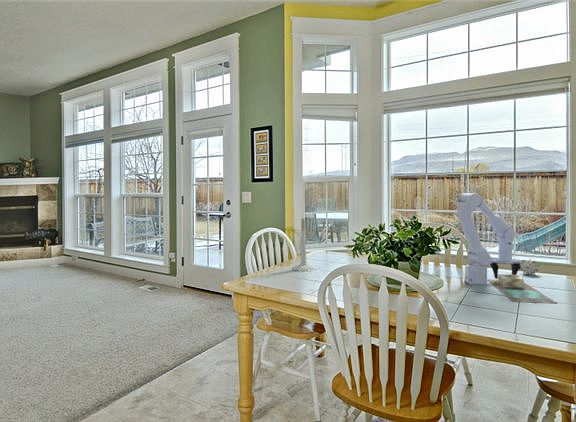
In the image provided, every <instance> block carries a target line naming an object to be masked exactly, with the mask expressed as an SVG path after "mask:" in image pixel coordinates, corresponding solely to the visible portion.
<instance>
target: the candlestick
mask: <svg viewBox="0 0 576 422" xmlns="http://www.w3.org/2000/svg"><path fill="white" fill-rule="evenodd" d="M300 221H301V227H300V228H301V229H300V230H299V231H300V234H301V246H300V247H301V248H300V250H301V251H300V263H299V264H297V265H295V266H293V267H292V270H293V269H295V270H300V271H307V272H309V271H308V270H313V269H316V267H315V266H313V265H312V264H309V263H308V262H307V249H306V248H307V245H306V236H305V235H306V231H307V230H306V223H305V221H306V219H305V218H301V220H300ZM295 270H294V271H295ZM300 271H299V272H300ZM313 271H314V270H313Z"/></svg>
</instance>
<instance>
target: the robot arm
mask: <svg viewBox="0 0 576 422" xmlns="http://www.w3.org/2000/svg"><path fill="white" fill-rule="evenodd" d="M456 203H457V207H456V208H457V211H456V215H457V218H458V221H459V223H460V227H461V229H462V231H463V234H464V237H465V239H466V242H467V245H468V248H467V249H466V251H467V259H468V261H469V263H470V264H468V263H467V264H465V266H464V281H465V282H466V283H467V284H469V285H484V286H486V285H488V286H489V285H491V283H489V282H488V281H487V279H488V266H489V264H490V267H491V270H492V271H493V275H494V279H495V280H498V274H499V267H500V266H499V264H500V265H510V266H511V275H517V274H518V272H519V271H520V270H521V269H520V268H521V265H522V263H523V259H513V243H514V238H515V237H516V236H517V235H516V234H517V233H516V231H515V229H514V228H513V227H510V226H509V224H508V223H506V222H505V220H504V218H503V216H502V215H498V214H495V213H494V212H493V210H492V209H491V208H490V207H489V206H488V204H487V203H486V202H485V199H484V198H483V197H481V195H480V194H479V193H475V192H474V193H468V192H461V194H459V196H458V197H457V199H456ZM476 209H477V210H478V211H479V212H480V213H482V214H483V215H484V216H485V217H486V218H487V219H488V221H487V222H488V224H489V226H491V228H492V229H493V230H494V231H495V235H496V236H497V237H498V258H492V256H491V255H490V253H488V251H487V249H486V248H485V247H484V246H483V244H482V242H481V240H480V238H479V234H478V231H477V229H476V226H475V223H474V220H473V218H472V213H473V212H474V211H475V210H476Z"/></svg>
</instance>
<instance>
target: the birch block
mask: <svg viewBox="0 0 576 422" xmlns="http://www.w3.org/2000/svg"><path fill="white" fill-rule="evenodd" d="M497 280H498V283H499V284H501V285H502V286H504V287H515V288H524V283H525V278H523V277H521V276H519V275H517V274H516V275H512V274H499V273H498V279H497Z"/></svg>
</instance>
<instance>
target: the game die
mask: <svg viewBox="0 0 576 422" xmlns="http://www.w3.org/2000/svg"><path fill="white" fill-rule="evenodd" d="M538 267H540V265H539V264H537V263H536V260H532V259H531V258H529V259H527V260H524V259H522V265H521V267H520V269H519V270H521V271H522V273H523V274H527V276H529V275H532V274H534V275H536V272H539V269H538Z"/></svg>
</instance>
